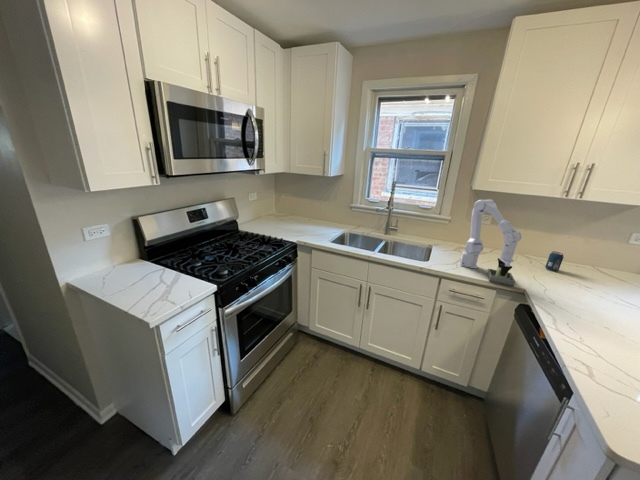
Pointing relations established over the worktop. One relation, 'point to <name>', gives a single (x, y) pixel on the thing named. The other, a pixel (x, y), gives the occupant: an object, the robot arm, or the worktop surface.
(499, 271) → the light green block
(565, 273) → the worktop surface
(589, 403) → the worktop surface
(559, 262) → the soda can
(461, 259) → the robot arm
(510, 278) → the bin
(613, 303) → the worktop surface
